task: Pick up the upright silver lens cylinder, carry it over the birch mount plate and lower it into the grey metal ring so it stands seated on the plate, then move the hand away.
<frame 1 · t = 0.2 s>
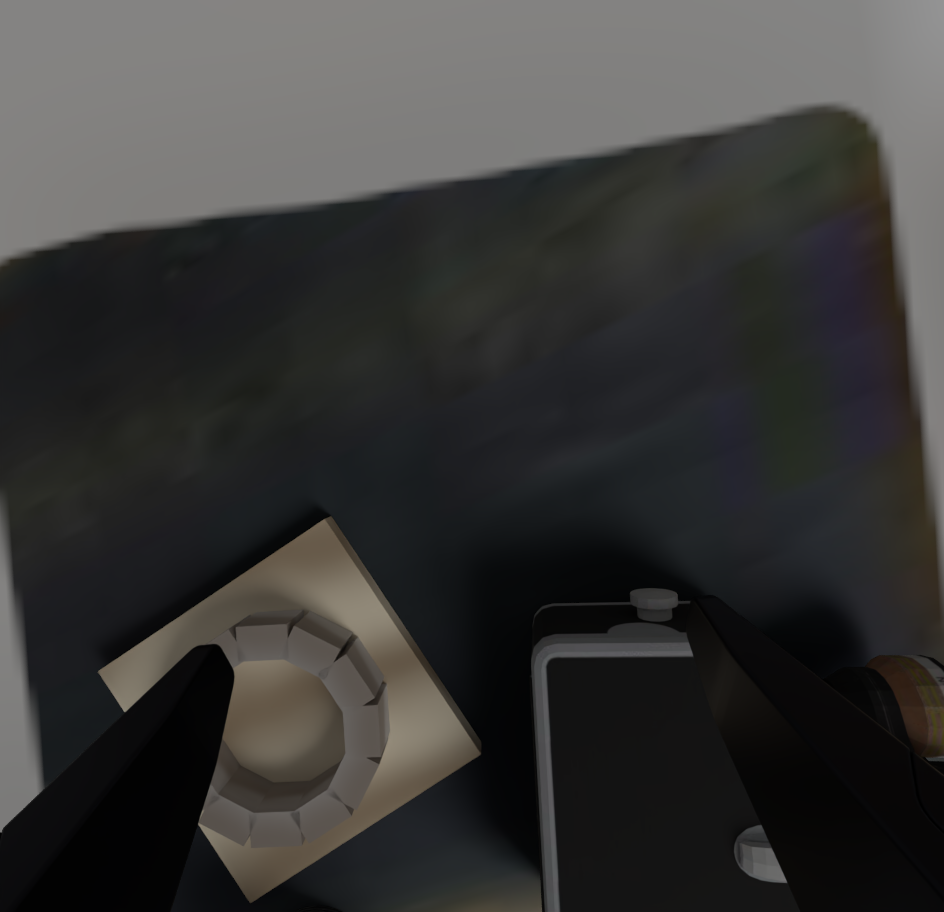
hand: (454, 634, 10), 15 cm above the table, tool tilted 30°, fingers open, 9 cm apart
mount: (295, 701, 25), on the table
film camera: (702, 725, 24), on the table
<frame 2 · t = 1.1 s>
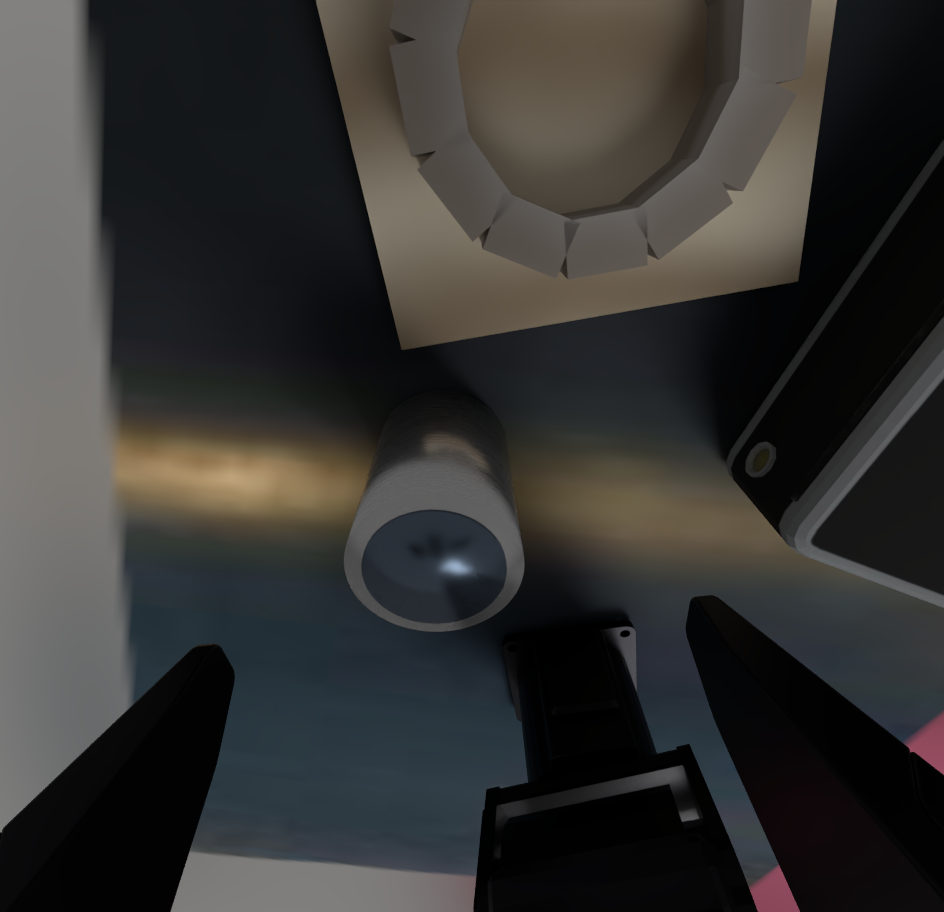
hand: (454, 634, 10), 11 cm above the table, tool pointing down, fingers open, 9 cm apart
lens: (443, 448, 20), on the table
mount: (574, 81, 14), on the table
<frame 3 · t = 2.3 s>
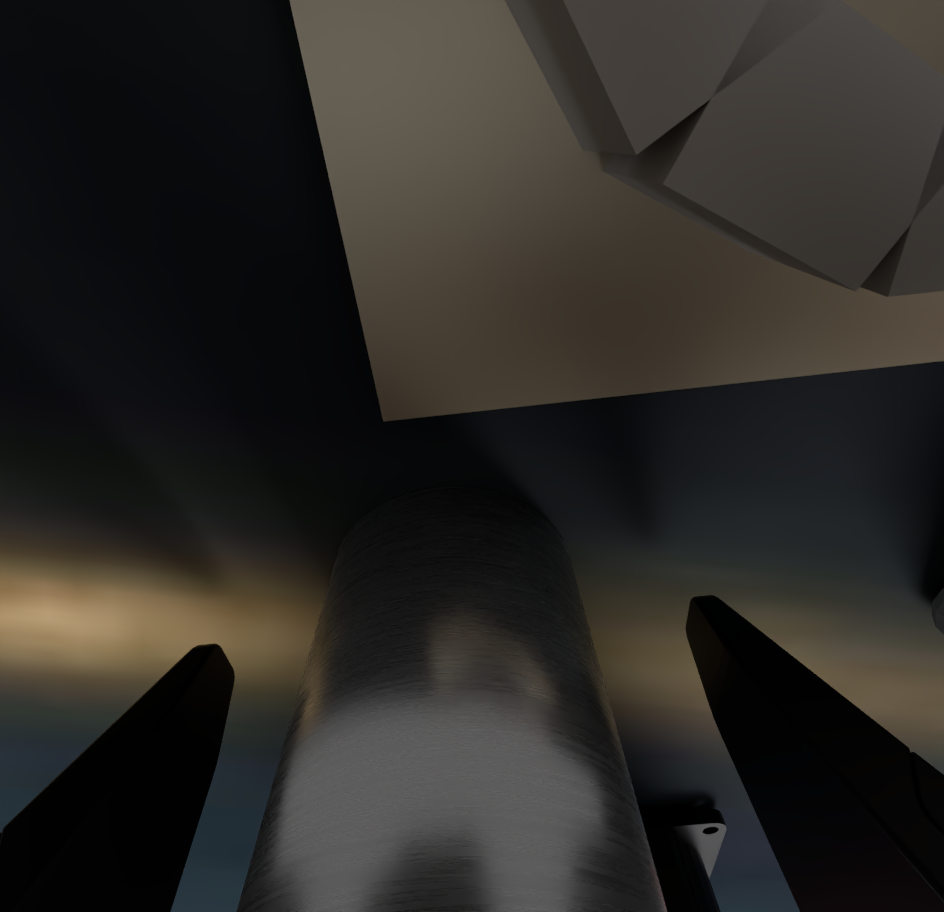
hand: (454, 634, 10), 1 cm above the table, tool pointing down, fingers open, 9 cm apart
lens: (453, 582, 11), on the table
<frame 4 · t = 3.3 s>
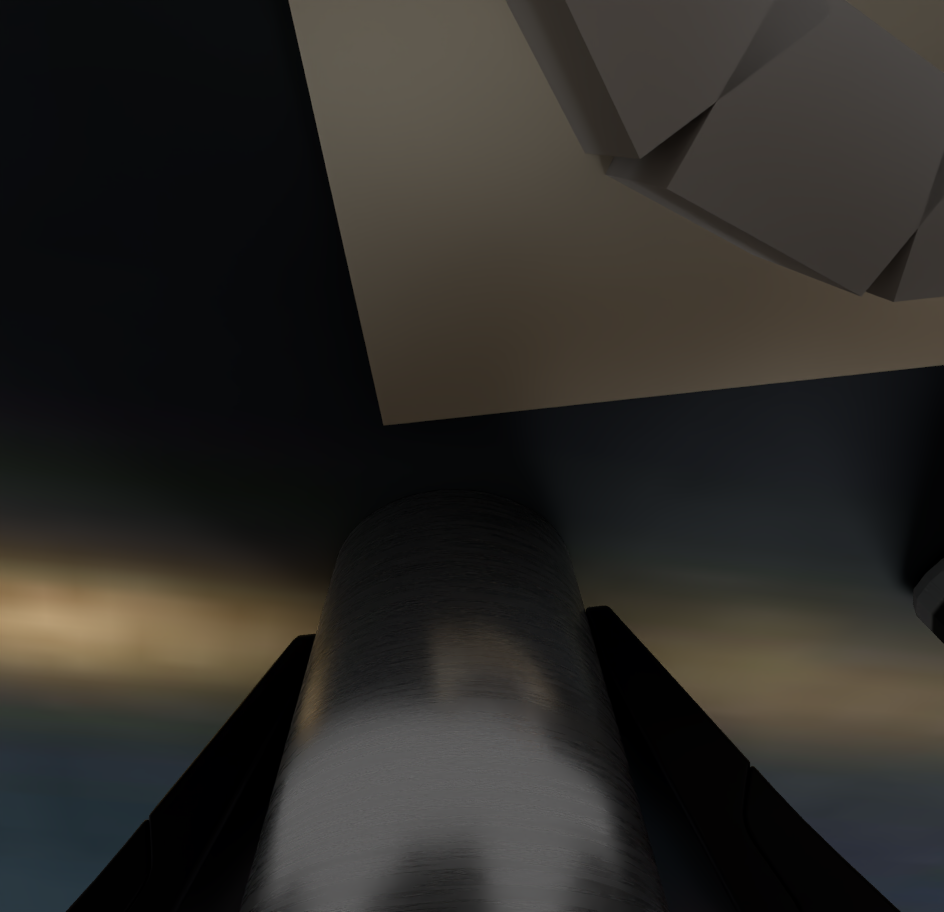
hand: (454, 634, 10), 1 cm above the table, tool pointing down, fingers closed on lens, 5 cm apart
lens: (454, 586, 11), on the table, touching gripper
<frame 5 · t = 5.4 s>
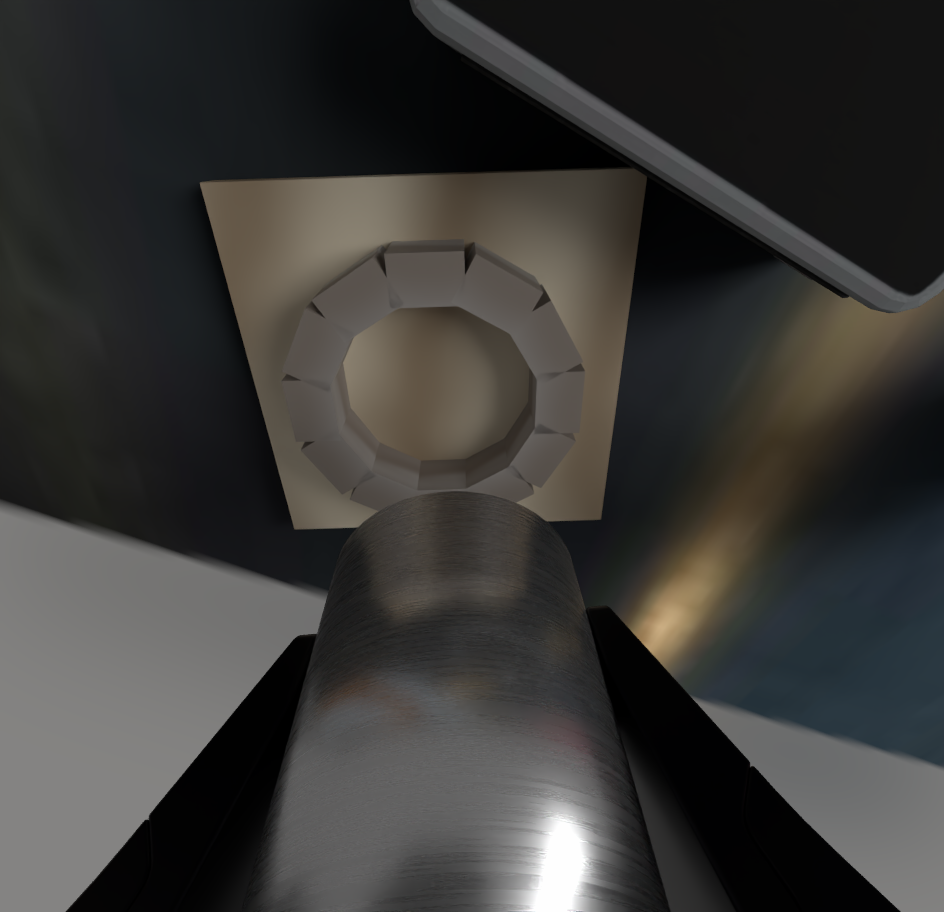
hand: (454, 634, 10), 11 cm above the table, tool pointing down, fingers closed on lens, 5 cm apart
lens: (455, 587, 11), point 10 cm above the table, touching gripper
mount: (439, 372, 19), on the table
when the fingers open (3 cm above the table, at t = 7.7 s): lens drops 1 cm, resting on mount.
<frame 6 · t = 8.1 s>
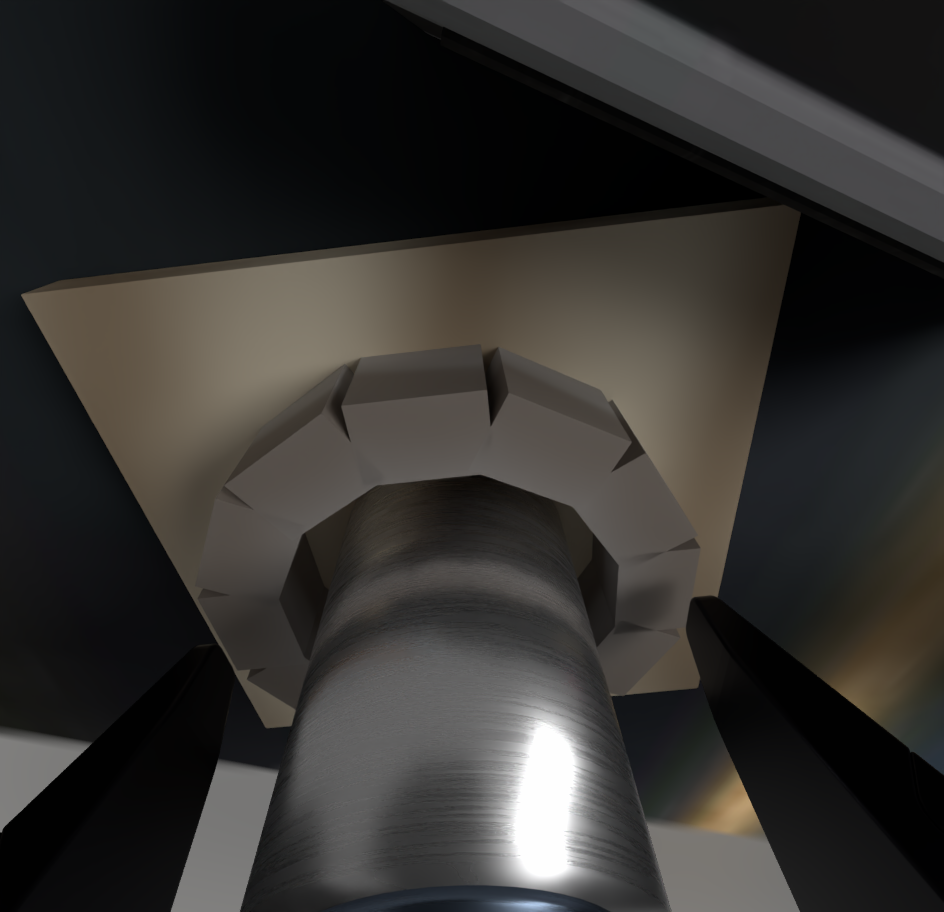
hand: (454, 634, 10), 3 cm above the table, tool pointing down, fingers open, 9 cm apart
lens: (455, 545, 12), point 1 cm above the table, touching mount
mount: (452, 518, 13), on the table
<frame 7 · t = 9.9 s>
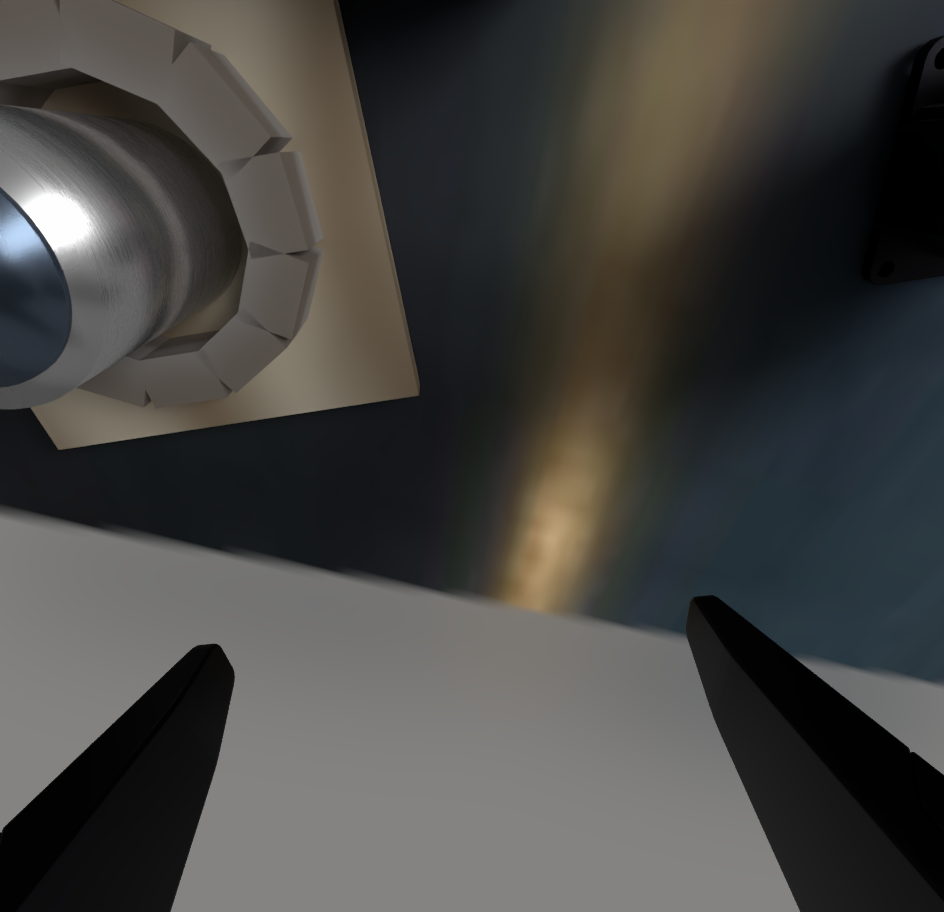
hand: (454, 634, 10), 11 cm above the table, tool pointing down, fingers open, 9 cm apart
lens: (150, 223, 14), point 1 cm above the table, touching mount
mount: (165, 218, 15), on the table
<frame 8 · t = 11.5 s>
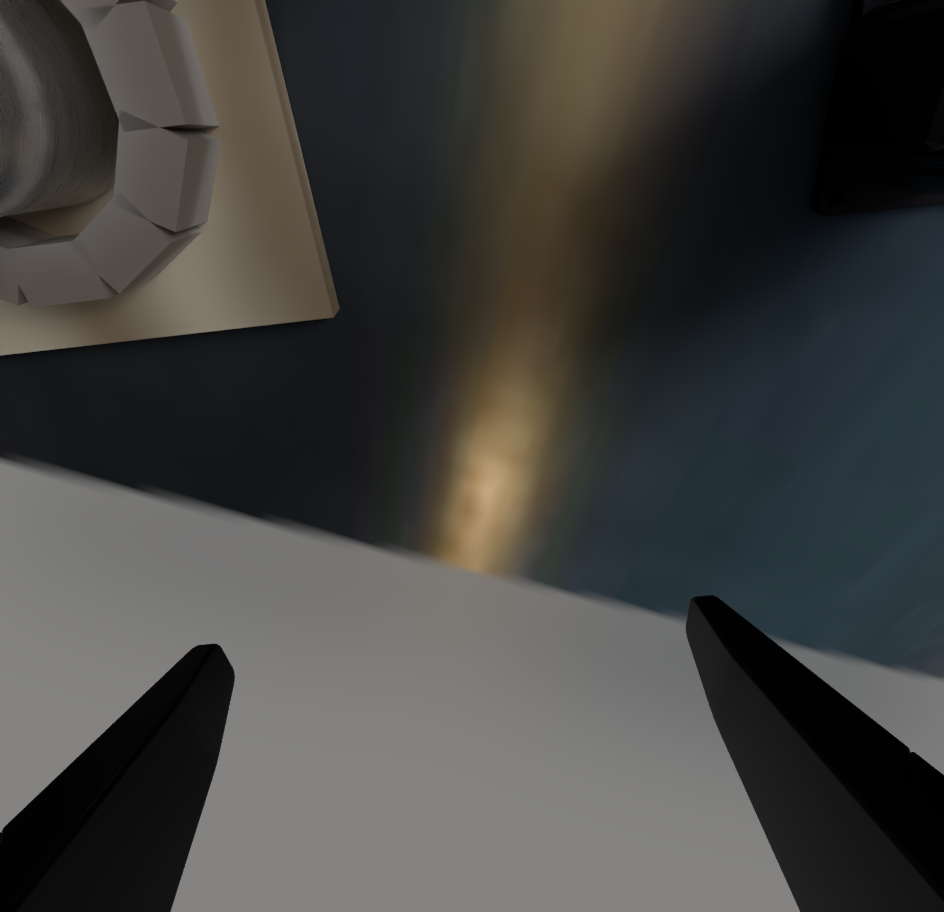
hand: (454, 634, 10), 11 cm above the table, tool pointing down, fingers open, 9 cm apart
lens: (24, 98, 13), point 1 cm above the table, touching mount
mount: (49, 100, 14), on the table
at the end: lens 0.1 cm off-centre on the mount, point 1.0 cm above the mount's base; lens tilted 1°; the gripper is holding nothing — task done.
